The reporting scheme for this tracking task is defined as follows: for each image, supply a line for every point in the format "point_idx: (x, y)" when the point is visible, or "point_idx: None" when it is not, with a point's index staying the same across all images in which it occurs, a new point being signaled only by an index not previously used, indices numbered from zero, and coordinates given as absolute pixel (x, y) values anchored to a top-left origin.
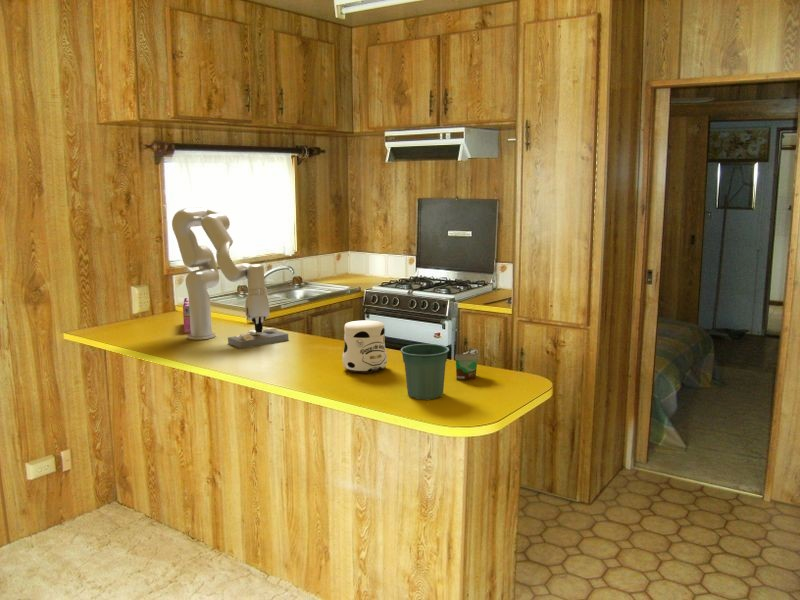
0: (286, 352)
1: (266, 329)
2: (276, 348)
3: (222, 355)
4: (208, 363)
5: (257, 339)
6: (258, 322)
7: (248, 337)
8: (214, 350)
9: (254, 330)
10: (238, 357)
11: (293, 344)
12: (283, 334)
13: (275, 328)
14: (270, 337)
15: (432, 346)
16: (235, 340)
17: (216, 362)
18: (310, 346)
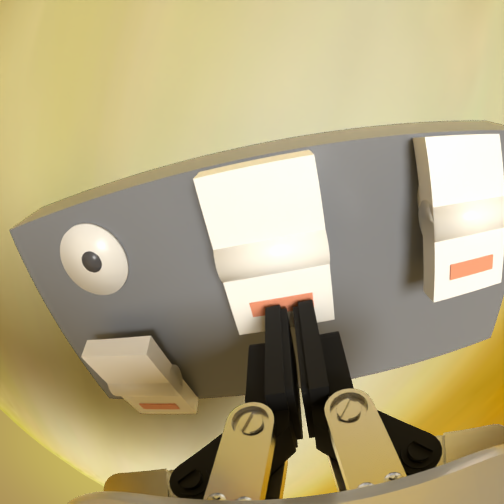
0: (310, 465)
1: (433, 238)
2: None
3: (56, 401)
4: (42, 432)
5: (232, 394)
6: (285, 461)
7: (157, 409)
8: (3, 318)
9: (281, 210)
10: (119, 445)
11: (420, 392)
12: (463, 342)
13: (494, 281)
14: (350, 375)
15: None
16: (71, 342)
17: (60, 439)
18: (436, 426)
